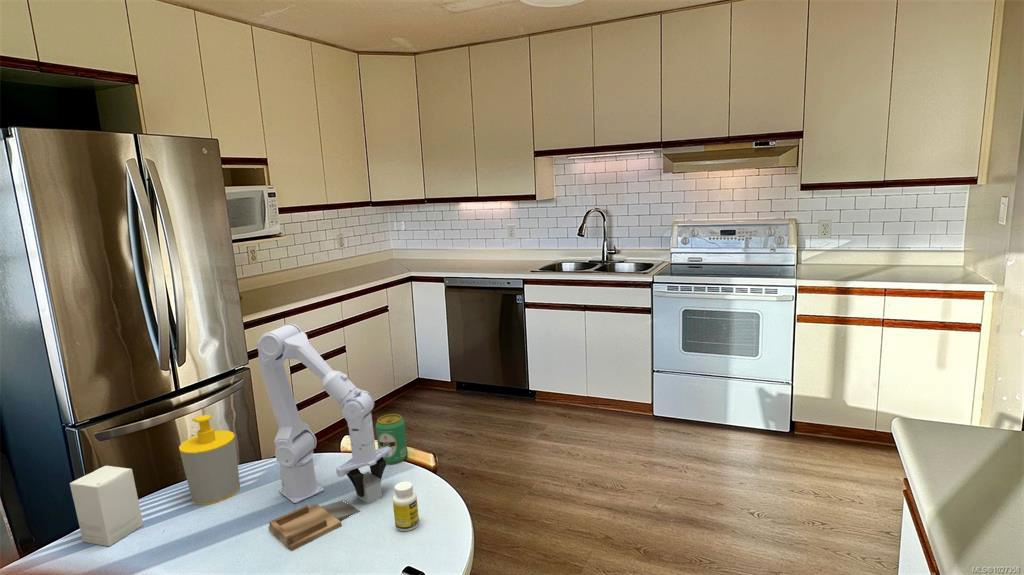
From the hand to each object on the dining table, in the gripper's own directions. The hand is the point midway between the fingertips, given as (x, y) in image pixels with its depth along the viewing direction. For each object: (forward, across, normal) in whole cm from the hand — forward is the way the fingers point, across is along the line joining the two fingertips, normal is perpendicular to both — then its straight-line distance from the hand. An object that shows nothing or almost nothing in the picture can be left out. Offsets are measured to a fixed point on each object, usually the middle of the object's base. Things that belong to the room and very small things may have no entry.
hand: (368, 491), depth 145 cm
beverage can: (+2, +16, +13) cm, 21 cm away
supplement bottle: (+2, -1, -18) cm, 18 cm away
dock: (+2, -14, 0) cm, 14 cm away
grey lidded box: (+1, 0, 0) cm, 1 cm away
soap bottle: (+2, -25, +35) cm, 43 cm away
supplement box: (+2, -48, +35) cm, 59 cm away
